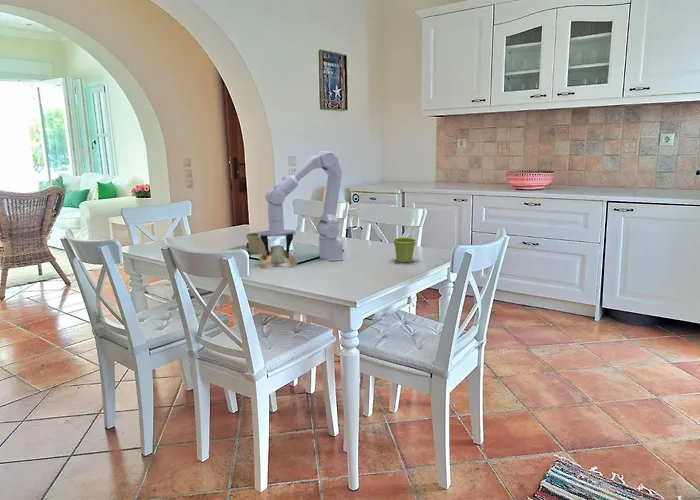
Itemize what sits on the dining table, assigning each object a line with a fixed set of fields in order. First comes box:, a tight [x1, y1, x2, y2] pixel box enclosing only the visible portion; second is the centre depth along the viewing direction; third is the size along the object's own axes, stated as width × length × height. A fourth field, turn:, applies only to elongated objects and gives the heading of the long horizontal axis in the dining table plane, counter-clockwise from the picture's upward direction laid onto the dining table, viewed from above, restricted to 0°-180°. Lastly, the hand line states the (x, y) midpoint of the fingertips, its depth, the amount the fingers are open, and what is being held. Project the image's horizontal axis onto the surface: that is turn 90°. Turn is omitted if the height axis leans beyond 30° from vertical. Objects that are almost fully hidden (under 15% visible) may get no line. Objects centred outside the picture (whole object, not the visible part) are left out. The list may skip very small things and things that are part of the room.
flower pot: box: [245, 232, 266, 255], centre depth 225 cm, size 9×9×9 cm
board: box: [258, 249, 298, 270], centre depth 210 cm, size 14×22×3 cm, turn 13°
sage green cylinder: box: [270, 244, 285, 264], centre depth 203 cm, size 5×8×6 cm, turn 12°
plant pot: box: [392, 237, 417, 264], centre depth 207 cm, size 9×9×9 cm
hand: (277, 254), depth 204 cm, fingers open, 7 cm apart
